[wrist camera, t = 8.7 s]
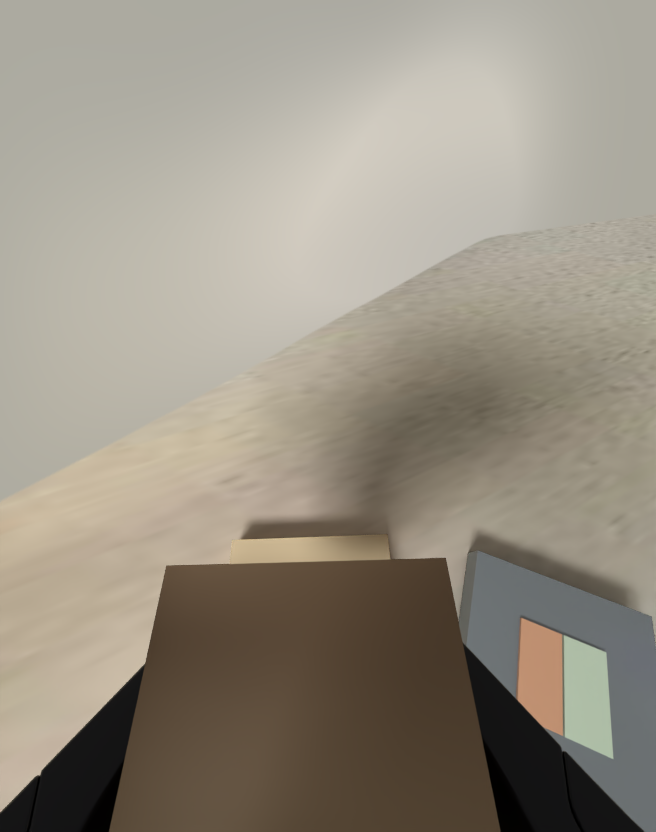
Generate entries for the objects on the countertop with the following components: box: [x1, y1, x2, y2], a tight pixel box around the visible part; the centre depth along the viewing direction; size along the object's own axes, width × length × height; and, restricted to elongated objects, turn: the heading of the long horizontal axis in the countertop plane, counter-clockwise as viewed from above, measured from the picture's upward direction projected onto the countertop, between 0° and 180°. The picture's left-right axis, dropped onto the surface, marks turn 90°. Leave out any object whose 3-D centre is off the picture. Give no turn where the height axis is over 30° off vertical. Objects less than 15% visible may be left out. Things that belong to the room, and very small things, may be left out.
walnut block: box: [109, 558, 501, 832], centre depth 8 cm, size 4×4×10 cm
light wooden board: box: [230, 534, 390, 564], centre depth 18 cm, size 10×10×2 cm
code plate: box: [459, 550, 656, 832], centre depth 17 cm, size 10×10×2 cm
